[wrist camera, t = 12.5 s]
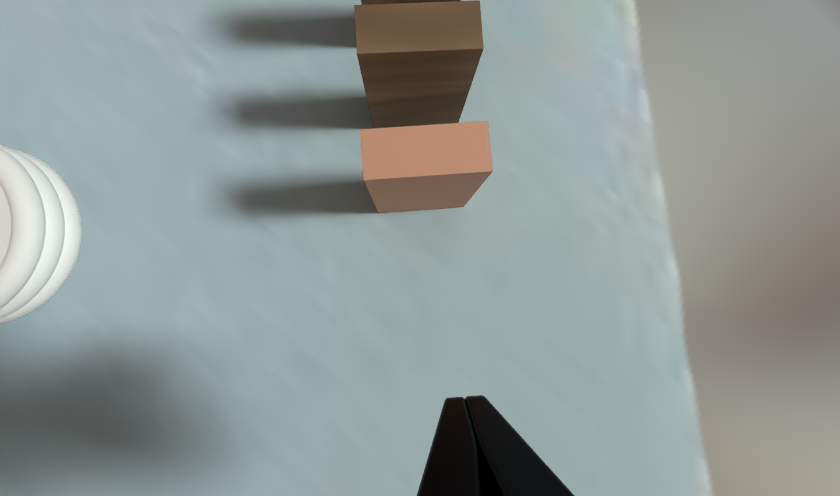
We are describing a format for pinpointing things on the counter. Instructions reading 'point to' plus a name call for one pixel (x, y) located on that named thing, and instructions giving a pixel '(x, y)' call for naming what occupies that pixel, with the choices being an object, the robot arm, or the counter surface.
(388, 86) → the walnut domino
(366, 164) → the terracotta domino
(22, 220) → the white rounded piece
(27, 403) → the counter surface
